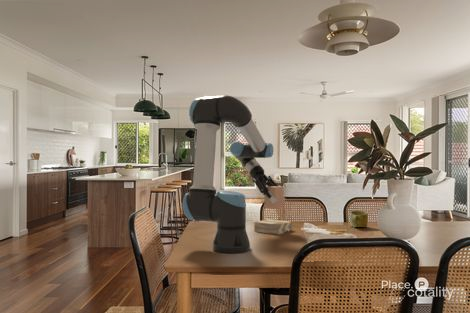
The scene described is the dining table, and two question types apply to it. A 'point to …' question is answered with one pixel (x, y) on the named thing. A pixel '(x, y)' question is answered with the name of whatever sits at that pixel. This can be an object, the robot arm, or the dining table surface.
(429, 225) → the dining table surface
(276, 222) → the ash block
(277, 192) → the terracotta block
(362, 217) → the mug
